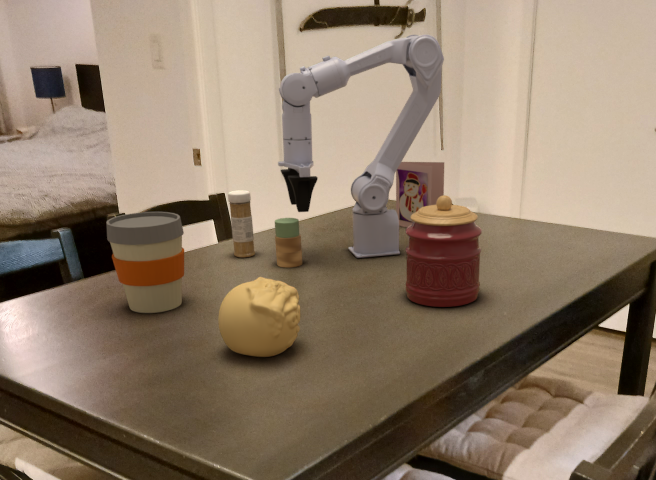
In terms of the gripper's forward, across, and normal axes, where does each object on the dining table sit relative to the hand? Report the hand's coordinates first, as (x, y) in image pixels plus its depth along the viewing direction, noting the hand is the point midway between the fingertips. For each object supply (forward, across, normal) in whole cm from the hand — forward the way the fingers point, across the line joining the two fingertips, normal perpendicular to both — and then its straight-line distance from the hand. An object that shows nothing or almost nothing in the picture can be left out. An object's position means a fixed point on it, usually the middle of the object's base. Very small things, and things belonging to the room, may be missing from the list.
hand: (299, 207), depth 156 cm
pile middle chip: (+8, +4, -3) cm, 9 cm away
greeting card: (+10, -18, +33) cm, 39 cm away
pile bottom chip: (+10, +4, -3) cm, 12 cm away
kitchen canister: (+10, +34, +19) cm, 40 cm away
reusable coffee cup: (+11, +22, -30) cm, 39 cm away
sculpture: (+11, +49, -15) cm, 53 cm away
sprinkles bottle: (+11, -6, -11) cm, 17 cm away
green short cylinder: (+4, +4, -3) cm, 7 cm away
